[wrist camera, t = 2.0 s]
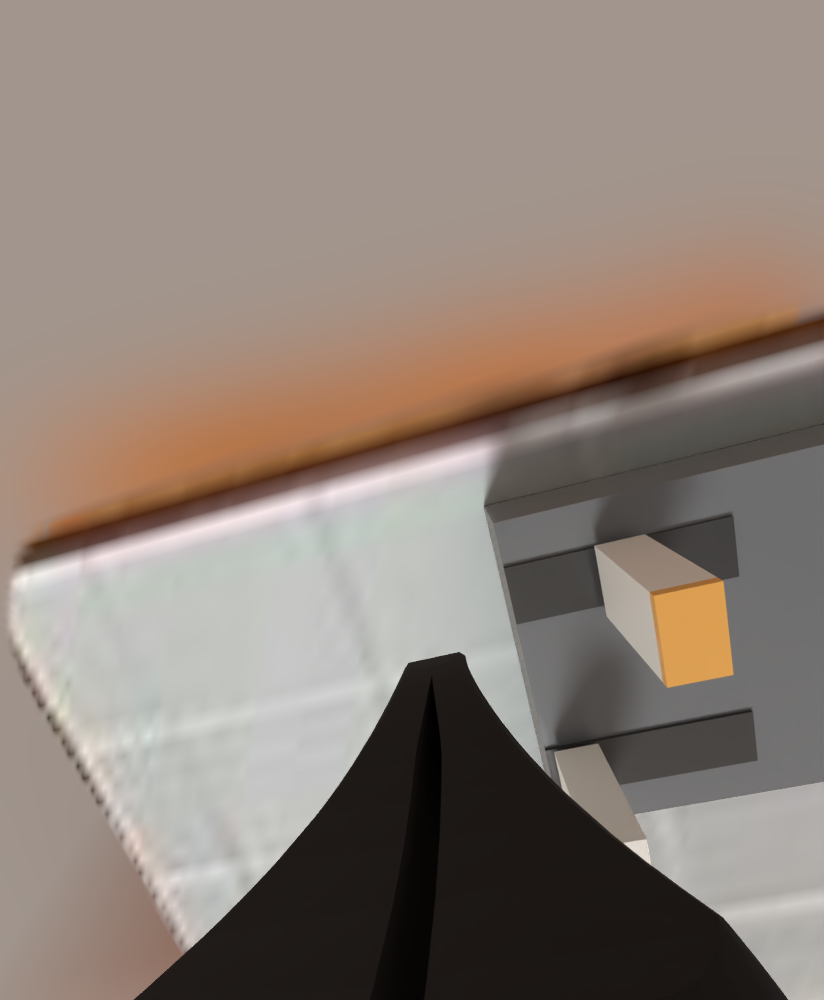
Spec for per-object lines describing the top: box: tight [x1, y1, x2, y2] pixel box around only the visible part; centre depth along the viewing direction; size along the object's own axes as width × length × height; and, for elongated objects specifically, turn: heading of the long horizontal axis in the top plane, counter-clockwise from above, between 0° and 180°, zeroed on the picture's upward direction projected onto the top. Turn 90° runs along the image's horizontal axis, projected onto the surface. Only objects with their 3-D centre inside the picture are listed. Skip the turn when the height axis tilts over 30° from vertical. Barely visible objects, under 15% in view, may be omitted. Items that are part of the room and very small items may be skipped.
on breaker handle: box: [554, 744, 651, 865], centre depth 13 cm, size 2×2×3 cm, turn 15°
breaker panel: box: [484, 424, 824, 814], centre depth 15 cm, size 16×12×2 cm
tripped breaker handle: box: [594, 534, 734, 688], centre depth 11 cm, size 2×2×3 cm, turn 15°
